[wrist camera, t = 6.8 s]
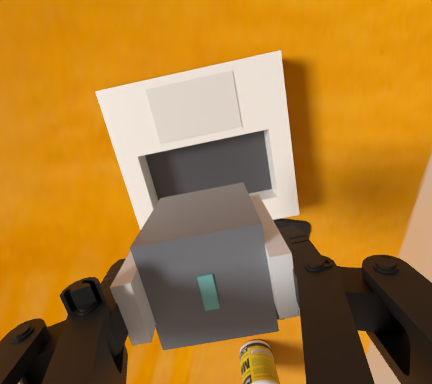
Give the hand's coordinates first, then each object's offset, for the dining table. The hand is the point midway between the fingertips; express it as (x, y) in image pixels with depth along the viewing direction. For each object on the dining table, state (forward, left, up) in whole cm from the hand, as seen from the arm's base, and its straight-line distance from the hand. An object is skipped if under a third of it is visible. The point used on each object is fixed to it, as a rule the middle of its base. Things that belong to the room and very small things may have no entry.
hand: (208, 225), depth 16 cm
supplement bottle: (+28, +1, -15) cm, 32 cm away
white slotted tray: (-2, 0, -15) cm, 15 cm away
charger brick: (0, 0, 0) cm, 1 cm away
